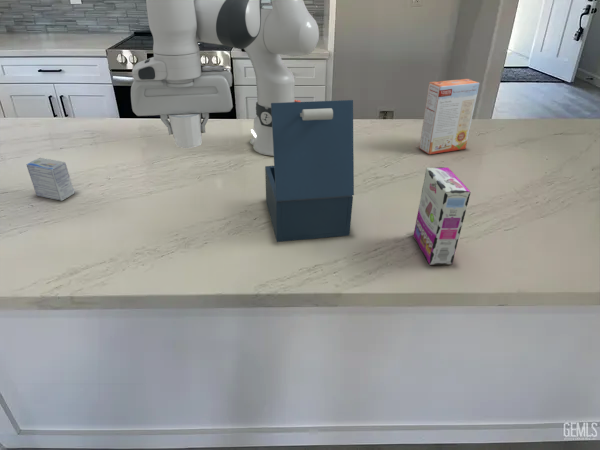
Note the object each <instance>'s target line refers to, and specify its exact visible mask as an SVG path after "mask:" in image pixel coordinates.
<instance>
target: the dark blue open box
mask: <svg viewBox="0 0 600 450" xmlns="http://www.w3.org/2000/svg"><path fill="white" fill-rule="evenodd" d="M264 172H265V173H264V174H265V175H264V177H265V203H266V207H267V211H268V214H269V218H270V221H271V225H272V229H273V233H274V236H275V240H276V241H275V242H276V243H282V242H293V241H302V240H313V239H325V238H326V239H327V238H335V237H336V238H337V237H346V236H347V237H348V236H350V235H351V225H352V212H353V201H354V195H350V196H337V197H324V198H311V199H298V200H284V201H276V190H275V171H274V165H265V167H264Z"/></svg>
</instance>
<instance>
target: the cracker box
mask: <svg viewBox="0 0 600 450" xmlns="http://www.w3.org/2000/svg"><path fill="white" fill-rule="evenodd" d="M479 87H480V82H479V81H475V80H473V79H471V78H462V79H461V78H460V79H451V80H441V81H440V80H439V81H430V82H429V83H428V89H427V95H426V101H425V109H424V115H423V121H422V127H421V135H420V139H419V149H420V150H421V151H423V152H424V153H425V154H427V155H436V154H442V153H447V152H448V153H449V152H455V151H461V150H466V148H467V144H468V139H469V134H470V129H471V125H472V121H473V115H474V112H475V107H476V101H477V98H478V97H477V96H478V92H479Z"/></svg>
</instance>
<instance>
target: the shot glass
mask: <svg viewBox="0 0 600 450" xmlns="http://www.w3.org/2000/svg"><path fill="white" fill-rule="evenodd" d="M168 121H169V122H170V124H171V127H172V131H173V135H172V136H173V140H174V144H175V146H176V147H178V148H182V149H192V148H193V149H194V148H195V147H196V148H197V147H199V146H201V145H202V143H203V140H202V138H203V135H202V134H203V133H201V123H202V113H193V114H171V115H168Z"/></svg>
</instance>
